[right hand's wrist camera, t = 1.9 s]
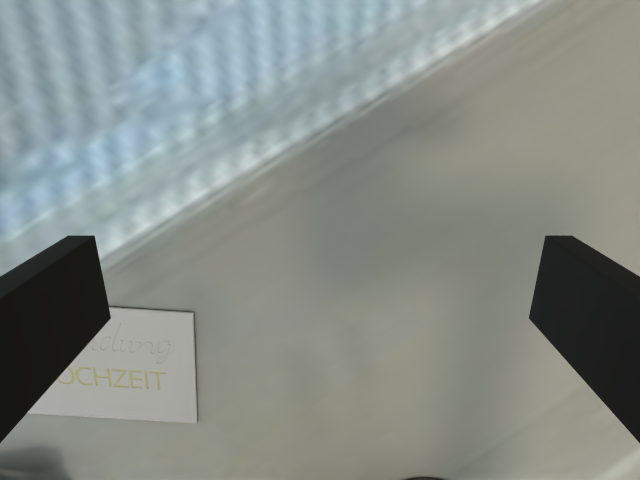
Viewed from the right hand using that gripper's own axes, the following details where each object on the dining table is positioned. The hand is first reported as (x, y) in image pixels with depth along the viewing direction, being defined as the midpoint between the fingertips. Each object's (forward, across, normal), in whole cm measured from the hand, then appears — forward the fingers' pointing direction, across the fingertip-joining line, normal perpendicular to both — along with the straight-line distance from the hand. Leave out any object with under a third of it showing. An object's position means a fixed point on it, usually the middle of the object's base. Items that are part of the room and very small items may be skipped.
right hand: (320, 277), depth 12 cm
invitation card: (+28, +25, +24) cm, 44 cm away
